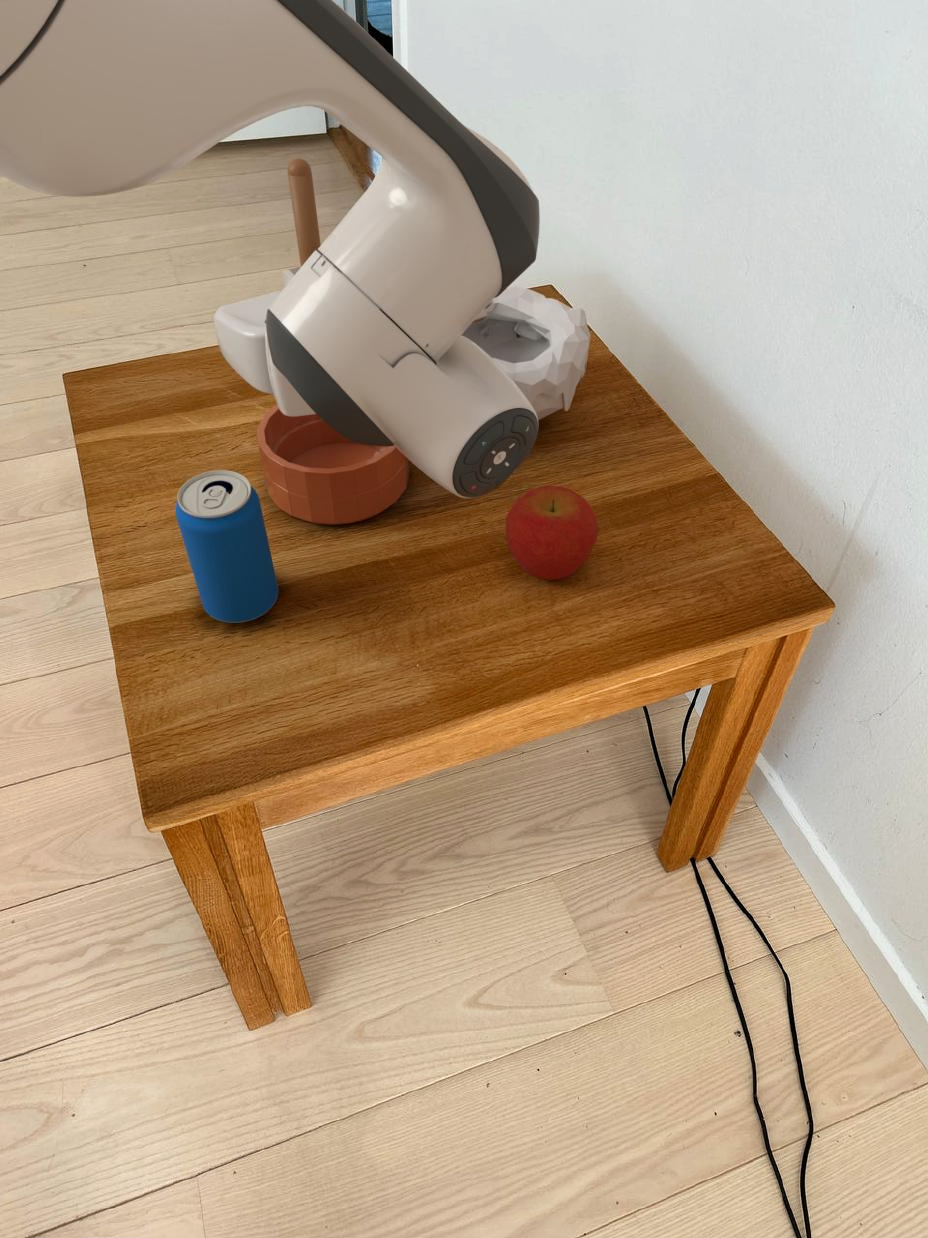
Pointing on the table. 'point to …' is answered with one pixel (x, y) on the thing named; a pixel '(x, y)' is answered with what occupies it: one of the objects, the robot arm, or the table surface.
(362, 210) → the robot arm
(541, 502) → the apple
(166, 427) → the table surface
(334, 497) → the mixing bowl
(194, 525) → the beverage can
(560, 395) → the bowl
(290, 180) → the plunger
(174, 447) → the table surface
